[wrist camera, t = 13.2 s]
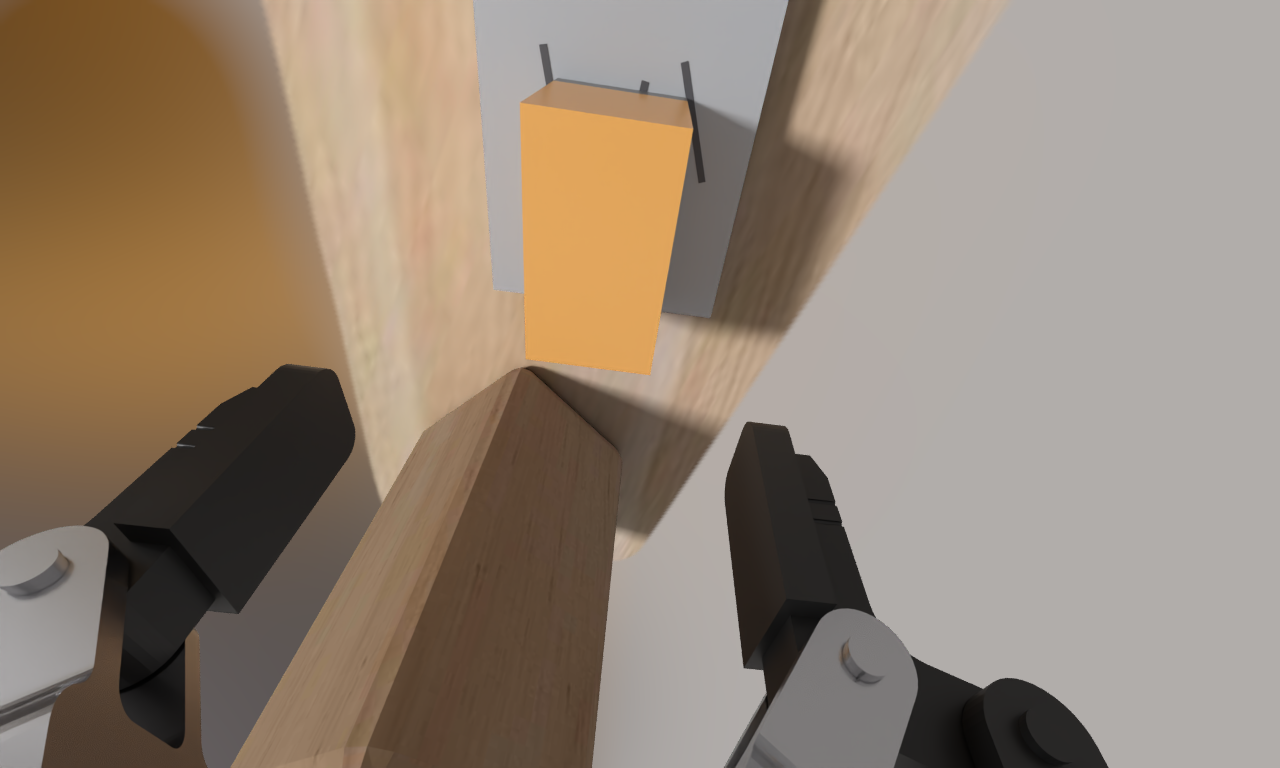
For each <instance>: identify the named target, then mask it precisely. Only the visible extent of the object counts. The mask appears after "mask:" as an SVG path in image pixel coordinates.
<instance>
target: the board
mask: <svg viewBox="0 0 1280 768" xmlns="http://www.w3.org/2000/svg"><path fill="white" fill-rule="evenodd" d="M788 1H789V0H473V6H474V20H475V34H476V48H477V62H478V77H479V91H480V105H481V119H482V133H483V148H484V162H485V176H486V190H487V204H488V218H489V233H490V247H491V261H492V275H493V289H494V290H500V291H508V292H516V293H523V294H524V262H523V219H522V176H521V133H520V102H521V101H523V100H525V99H526V98H528V97H529V96H531V95H532V94H534V93H535V92H537V91H538V90H540V89H541V88H543V87H544V86H546V85H548V84H549V83H551V82H552V81H554V80H555V79H557V78H561V79H568V80H574V81H581V82H587V83H594V84H600V85H607V86H613V87H620V88H626V89H633V90H639V91H646V92H652V93H659V94H665V95H672V96H678V97H684V98H687V101H688V106H689V111H690V116H691V120H692V125H693V133H692V139H691V145H690V150H689V156H688V162H687V167H686V173H685V179H684V184H683V190H682V196H681V201H680V207H679V213H678V218H677V224H676V230H675V236H674V241H673V247H672V253H671V258H670V264H669V270H668V275H667V281H666V287H665V292H664V298H663V304H662V309H661V312H667V313H675V314H682V315H690V316H698V317H705V318H711V314H712V310H713V306H714V302H715V298H716V293H717V289H718V285H719V281H720V277H721V273H722V269H723V265H724V261H725V257H726V253H727V249H728V245H729V241H730V237H731V233H732V228H733V224H734V220H735V216H736V212H737V208H738V204H739V200H740V196H741V192H742V188H743V184H744V180H745V176H746V172H747V167H748V163H749V159H750V155H751V151H752V147H753V143H754V139H755V135H756V131H757V127H758V123H759V119H760V115H761V111H762V107H763V102H764V98H765V94H766V90H767V86H768V82H769V78H770V74H771V70H772V66H773V62H774V58H775V54H776V50H777V46H778V42H779V37H780V33H781V29H782V25H783V21H784V17H785V13H786V9H787V5H788Z"/></svg>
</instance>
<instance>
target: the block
mask: <svg viewBox="0 0 1280 768" xmlns="http://www.w3.org/2000/svg"><path fill="white" fill-rule="evenodd" d="M621 471H622V460H621V457H620V455H619V453H618V451H617V449H616V448H615V447H613V446H612V445H611V444H610V443H609V442H608V441H607V440H606V439H605V438H604V437H603V436H601V435H600V434H599V433H598V432H597V431H596V430H595V429H594V428H593V427H592V426H590V425H589V424H588V423H587V422H586V421H585V420H584V419H583V418H582V417H581V416H580V415H578V414H577V413H576V412H575V411H574V410H573V409H572V408H571V407H570V406H569V405H567V404H566V403H565V402H564V401H563V400H562V399H561V398H560V397H559V396H558V395H556V394H555V393H554V392H553V391H552V390H551V389H550V388H549V387H548V386H547V385H546V384H544V383H543V382H542V381H541V380H540V379H539V378H538V377H537V376H536V375H535V374H533V373H532V372H531V371H529V370H527V369H524V368H518V369H514V370H513V371H511V372H509V373H507V374H506V375H505V376H503V377H502V378H500V379H499V380H497V381H496V382H494V383H493V384H492V385H490V386H489V387H487V388H486V389H484V390H483V391H481V392H480V393H479V394H477V395H476V396H474V397H473V398H471V399H470V400H468V401H467V402H465V403H464V404H463V405H461V406H460V407H458V408H457V409H455V410H454V411H452V412H451V413H450V414H448V415H447V416H445V417H444V418H442V419H441V420H439V421H438V422H437V423H435V424H434V425H432V426H431V427H429V428H428V429H426V430H425V431H424V432H423V434H422V435H421V437H420V439H419V440H418V442H417V444H416V446H415V447H414V449H413V451H412V453H411V454H410V456H409V458H408V460H407V461H406V463H405V465H404V467H403V468H402V470H401V472H400V474H399V475H398V477H397V479H396V481H395V482H394V484H393V486H392V487H391V489H390V491H389V493H388V494H387V496H386V498H385V500H384V501H383V503H382V505H381V507H380V509H379V510H378V512H377V514H376V515H375V517H374V519H373V521H372V522H371V524H370V526H369V528H368V529H367V531H366V533H365V534H364V536H363V538H362V540H361V541H360V543H359V545H358V547H357V548H356V550H355V552H354V554H353V555H352V557H351V559H350V561H349V562H348V564H347V566H346V568H345V570H344V571H343V573H342V574H341V577H340V578H339V580H338V581H337V583H336V585H335V587H334V588H333V590H332V592H331V594H330V596H329V597H328V599H327V601H326V602H325V604H324V606H323V608H322V609H321V611H320V613H319V615H318V616H317V618H316V620H315V622H314V623H313V625H312V627H311V628H310V630H309V632H308V634H307V636H306V637H305V639H304V641H303V643H302V644H301V646H300V648H299V649H298V651H297V653H296V655H295V656H294V658H293V660H292V662H291V663H290V665H289V667H288V669H287V670H286V672H285V674H284V675H283V677H282V679H281V681H280V682H279V684H278V686H277V688H276V689H275V691H274V693H273V695H272V696H271V698H270V700H269V702H268V703H267V705H266V707H265V708H264V710H263V712H262V714H261V716H260V717H259V719H258V721H257V723H256V724H255V726H254V728H253V729H252V731H251V733H250V735H249V736H248V738H247V740H246V742H245V743H244V745H243V747H242V749H241V750H240V752H239V754H238V756H237V757H236V759H235V761H234V762H233V764H232V766H231V768H592V760H593V750H594V741H595V731H596V721H597V710H598V701H599V691H600V681H601V670H602V661H603V650H604V640H605V630H606V621H607V611H608V601H609V590H610V581H611V570H612V561H613V551H614V541H615V531H616V521H617V511H618V501H619V491H620V481H621Z"/></svg>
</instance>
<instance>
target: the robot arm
mask: <svg viewBox="0 0 1280 768" xmlns="http://www.w3.org/2000/svg"><path fill="white" fill-rule="evenodd" d="M354 441H355V427H354V424H353V421H352V417H351V414H350V412H349V409H348V406H347V403H346V400H345V397H344V394H343V391H342V388H341V385H340V382H339V379H338V377H337V375H336V373H335V372H334V371H332V370H331V369H325V368H316V367H309V366H301V365H292V364H286V365H283V366H281V367H279V368H278V369H277V370H276V371H275V372H274V373H273V374H271V375H270V377H268V378H267V379H266V380H265V381H264V382H263V383H262V384H261V385H260V386H259V387H257V388H255V387H252V388H250V389H248V390H246V391H244V392H242V393H240V394H238V395H237V396H235V397H233V398H231V399H229V400H227V401H225V402H223V403H221V404H220V405H219V406H218V407H217V408H215V409H214V410H213V411H212V412H211V413H210V414H209V415H208V416H207V417H205V418H204V419H203V420H202V421H201V422H200V423H199V424H198V425H197V429H196V430H191V431H190V432H189V433H188V434H187V435H185V436H184V437H183V438H182V439H181V440H180V441H179V442H178V443H177V447H176V448H171V449H170V450H169V451H168V452H166V453H165V454H164V455H163V456H162V457H161V458H160V459H159V460H158V461H156V462H155V463H154V464H153V465H152V466H151V467H150V468H149V469H147V470H146V471H145V472H144V473H143V474H142V475H141V476H140V477H139V478H137V479H136V480H135V481H134V482H133V483H132V484H131V485H130V486H129V487H127V488H126V489H125V490H124V491H123V492H122V493H121V494H120V495H118V496H117V497H116V498H115V499H114V500H113V501H112V502H111V503H110V504H108V506H106V507H105V508H104V509H103V510H102V511H101V512H100V513H98V514H97V515H96V516H95V517H94V518H93V519H91V520H90V521H89V522H88V523H87V524H85V525H84V526H67V527H61V528H56V529H51V530H48V531H44V532H41V533H38V534H35V535H32V536H29V537H27V538H25V539H22V540H20V541H18V542H16V543H14V544H12V545H10V546H8V547H6V548H4V549H2V550H1V551H0V768H207V765H206V763H205V760H204V757H203V752H202V746H201V707H200V706H201V705H200V704H201V702H200V653H199V651H200V649H199V634H198V632H197V630H196V628H195V626H196V625H197V623H198V622H199V621H200V619H201V618H202V617H203V615H204V614H205V613H206V611H214V612H224V613H234V614H239V613H240V611H241V610H242V608H243V607H244V606H245V604H246V603H247V601H248V600H249V598H250V597H251V596H252V594H253V593H254V591H255V590H256V588H257V587H258V586H259V584H260V583H261V581H262V580H263V579H264V577H265V576H266V574H267V573H268V571H269V570H270V569H271V567H272V565H273V564H274V563H275V561H276V560H277V558H278V557H279V555H280V554H281V553H282V552H283V550H284V549H285V547H286V546H287V544H288V543H289V542H290V540H291V539H292V537H293V536H294V534H295V533H296V532H297V530H298V529H299V527H300V526H301V524H302V523H303V522H304V520H305V519H306V517H307V516H308V515H309V513H310V511H311V510H312V509H313V507H314V506H315V505H316V503H317V502H318V500H319V499H320V497H321V496H322V495H323V493H324V492H325V490H326V489H327V487H328V486H329V485H330V483H331V482H332V480H333V479H334V478H335V476H336V475H337V473H338V472H339V470H340V469H341V467H342V466H343V465H344V463H345V462H346V460H347V459H348V457H349V456H350V453H351V452H352V449H353V446H354ZM725 507H726V516H727V525H728V534H729V542H730V552H731V560H732V569H733V578H734V587H735V595H736V604H737V613H738V621H739V631H740V640H741V648H742V657H743V666H744V668H747V669H757V670H764V677H765V684H766V691H767V693H766V694H765V696H764V697H763V699H762V701H761V703H760V704H759V706H758V708H757V710H756V711H755V713H754V715H753V717H752V718H751V720H750V722H749V724H748V725H747V727H746V729H745V731H744V733H743V734H742V736H741V738H740V740H739V741H738V743H737V745H736V747H735V749H734V750H733V752H732V754H731V756H730V757H729V759H728V761H727V763H726V765H725V766H724V768H1108V766H1107V764H1106V762H1105V760H1104V759H1103V757H1102V755H1101V753H1100V751H1099V749H1098V747H1097V746H1096V744H1095V742H1094V741H1093V739H1092V737H1091V736H1090V734H1089V733H1088V731H1087V730H1086V729H1085V727H1084V726H1083V725H1082V723H1080V721H1079V720H1078V719H1077V718H1076V717H1075V715H1074V714H1073V713H1072V712H1071V711H1070V710H1069V709H1068V708H1066V707H1065V706H1064V705H1063V704H1062V703H1061V702H1060V701H1058V700H1057V699H1056V698H1055V697H1053V696H1052V695H1050V694H1049V693H1047V692H1046V691H1044V690H1043V689H1041V688H1039V687H1037V686H1035V685H1033V684H1031V683H1028V682H1026V681H1023V680H1019V679H1014V678H1005V679H999V680H997V681H995V682H993V683H991V684H990V685H988V686H987V687H986V688H984V689H982V688H980V687H977V686H975V685H973V684H971V683H968V682H966V681H964V680H961V679H959V678H957V677H955V676H952V675H950V674H948V673H945V672H943V671H941V670H939V669H936V668H934V667H932V666H930V665H927V664H925V663H923V662H921V661H919V660H918V659H916V658H915V657H913V656H911V655H910V654H909V652H908V650H907V649H906V647H905V646H904V644H903V643H902V641H901V640H900V639H899V638H898V637H897V635H896V634H895V633H894V632H893V631H892V630H891V629H890V628H889V627H887V626H886V625H885V624H884V623H882V622H881V621H880V620H878V619H876V617H875V615H874V613H873V612H872V609H871V606H870V604H869V601H868V598H867V595H866V592H865V589H864V586H863V583H862V580H861V577H860V574H859V571H858V568H857V565H856V562H855V559H854V556H853V553H852V550H851V547H850V544H849V541H848V538H847V535H846V532H845V529H844V527H842V524H841V523H842V520H841V517H840V514H839V511H838V508H837V506H835V499H834V496H833V493H832V490H831V487H830V484H829V481H828V478H827V477H826V475H825V474H824V473H823V472H822V470H821V469H820V468H819V467H818V465H817V464H816V463H815V461H814V460H813V459H812V458H811V457H810V456H808V455H800V454H795V452H794V448H793V445H792V441H791V437H790V434H789V431H788V429H787V428H786V427H785V426H780V425H771V424H763V423H755V422H747V423H746V424H745V426H744V428H743V430H742V433H741V436H740V439H739V442H738V444H737V447H736V450H735V453H734V456H733V459H732V462H731V465H730V467H729V470H728V473H727V477H726V484H725Z"/></svg>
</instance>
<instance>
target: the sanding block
mask: <svg viewBox="0 0 1280 768" xmlns="http://www.w3.org/2000/svg"><path fill="white" fill-rule="evenodd" d="M520 133H521V176H522V219H523V262H524V305H525V348H526V359H529V360H537V361H545V362H553V363H560V364H568V365H576V366H584V367H591V368H599V369H607V370H614V371H622V372H630V373H638V374H645V375H650V372H651V366H652V361H653V355H654V349H655V343H656V338H657V332H658V326H659V321H660V315H661V309H662V304H663V298H664V292H665V287H666V281H667V275H668V270H669V264H670V258H671V253H672V247H673V241H674V236H675V230H676V224H677V218H678V213H679V207H680V201H681V196H682V190H683V184H684V179H685V173H686V167H687V162H688V156H689V150H690V145H691V139H692V133H693V125H692V120H691V116H690V111H689V106H688V101H687V98H684V97H678V96H672V95H665V94H659V93H652V92H646V91H639V90H633V89H626V88H620V87H613V86H607V85H600V84H594V83H587V82H581V81H574V80H568V79H561V78H557V79H555V80H554V81H552V82H551V83H549V84H548V85H546V86H544V87H543V88H541V89H540V90H538V91H537V92H535V93H534V94H532V95H531V96H529V97H528V98H526V99H525V100H523V101H521V102H520Z"/></svg>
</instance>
